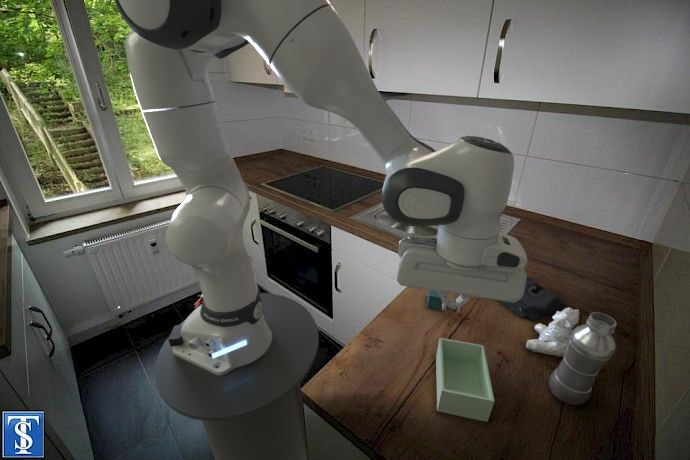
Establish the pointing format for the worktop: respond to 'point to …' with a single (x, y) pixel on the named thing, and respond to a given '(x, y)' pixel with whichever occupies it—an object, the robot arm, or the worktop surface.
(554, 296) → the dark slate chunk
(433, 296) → the block
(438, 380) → the bin
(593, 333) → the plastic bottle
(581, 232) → the worktop surface
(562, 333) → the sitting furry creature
